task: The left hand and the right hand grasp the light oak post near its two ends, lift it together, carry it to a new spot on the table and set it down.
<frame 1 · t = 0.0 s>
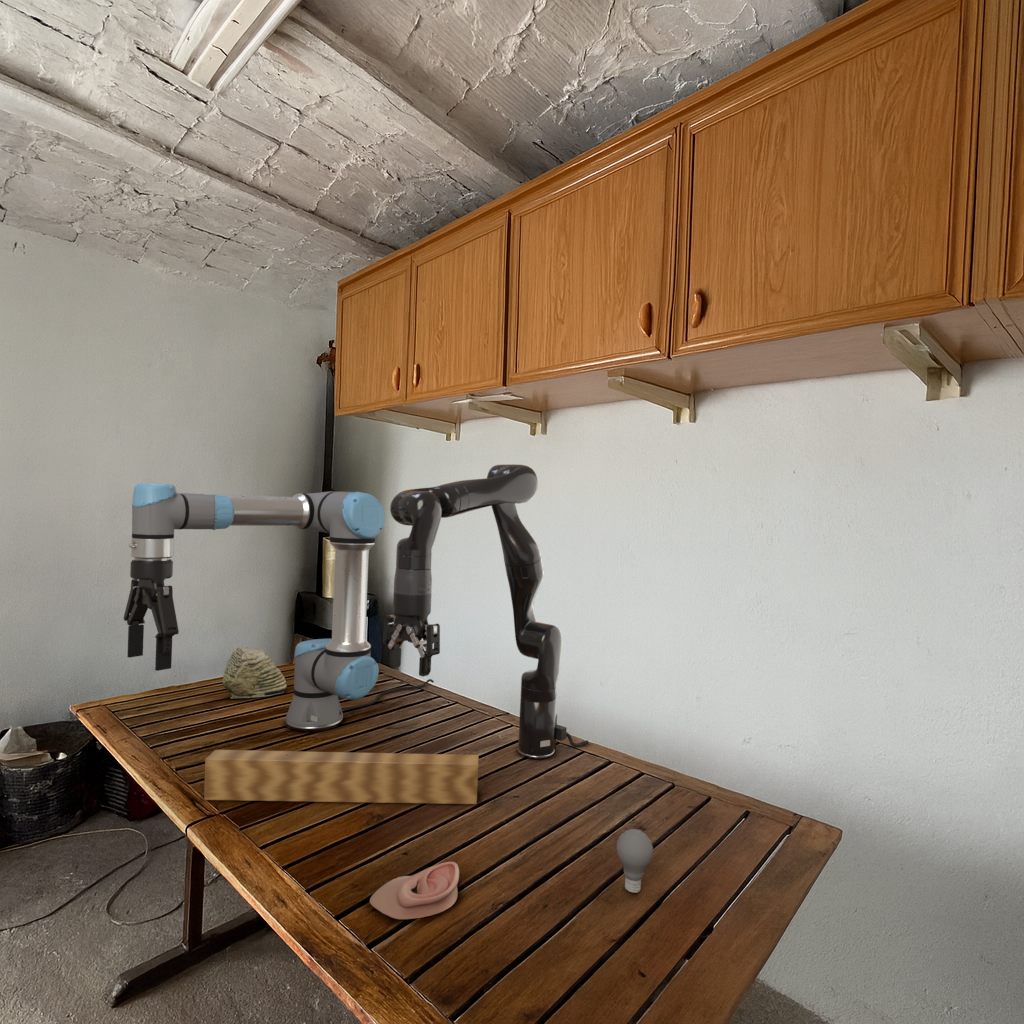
left hand: (148, 662, 129), 28 cm above the table, tool pointing down, fingers open, 13 cm apart
right hand: (409, 671, 127), 29 cm above the table, tool pointing down, fingers open, 8 cm apart
anatomical model: (415, 898, 101), on the table
light bulb: (632, 891, 106), on the table
fossil: (254, 694, 198), on the table
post: (344, 796, 134), on the table
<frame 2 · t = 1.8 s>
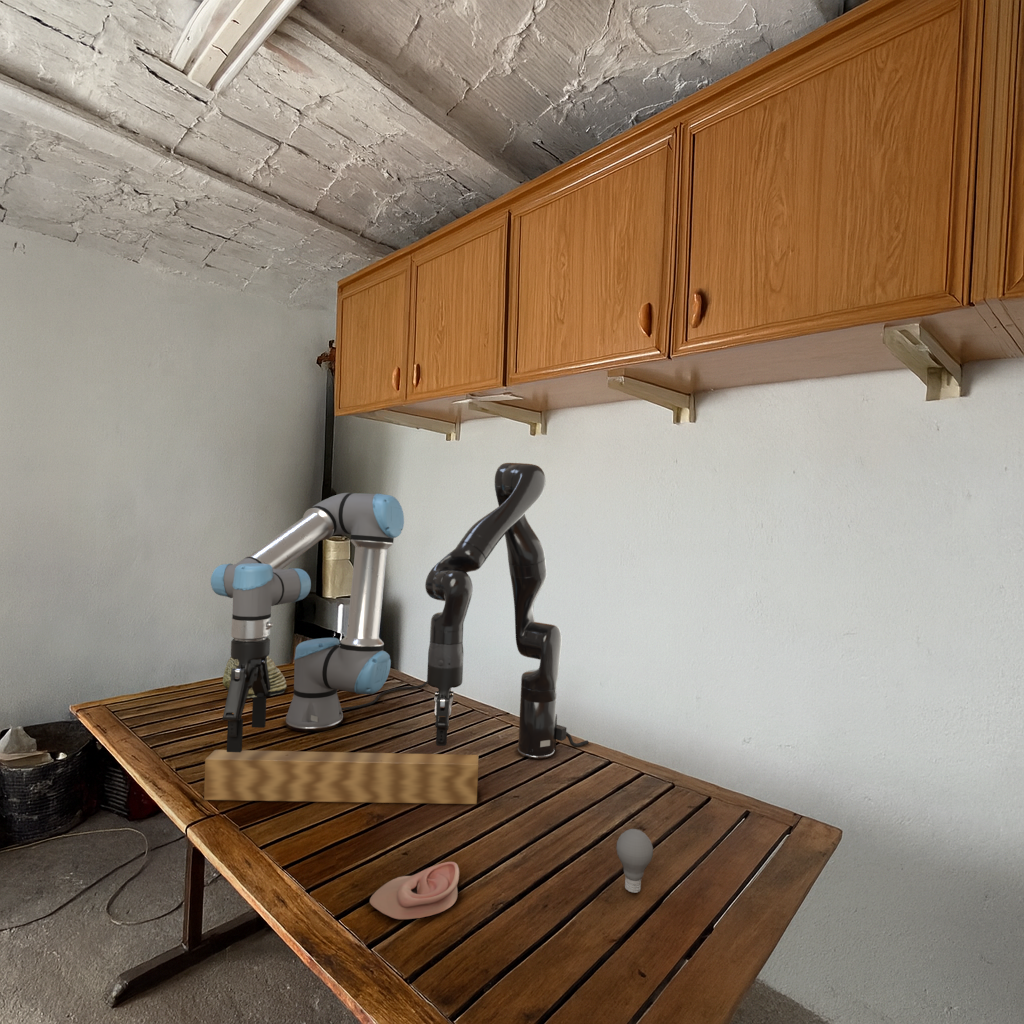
left hand: (247, 738, 133), 12 cm above the table, tool pointing down, fingers open, 13 cm apart
right hand: (442, 737, 135), 13 cm above the table, tool pointing down, fingers open, 8 cm apart
nothing on the table moved.
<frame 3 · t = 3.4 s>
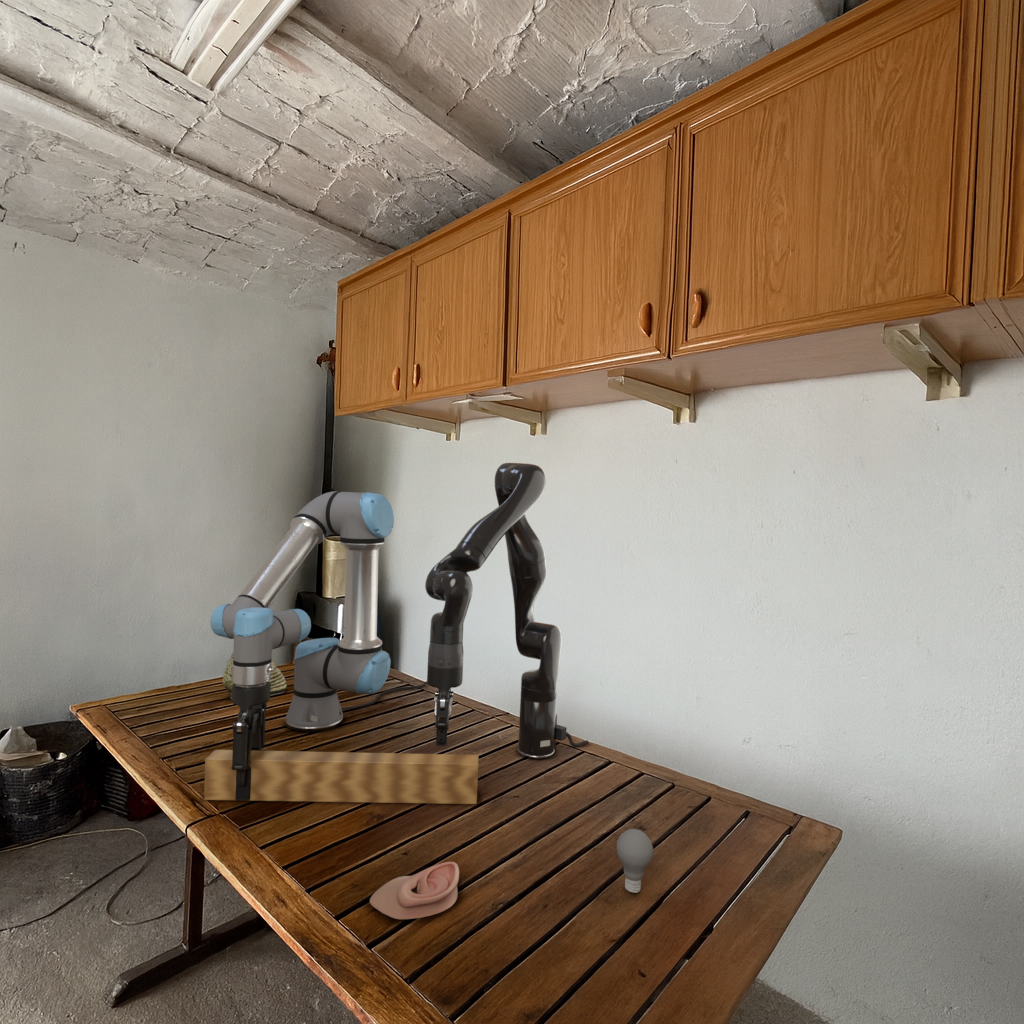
left hand: (247, 792, 133), 1 cm above the table, tool pointing down, fingers closed on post, 5 cm apart
right hand: (442, 737, 135), 13 cm above the table, tool pointing down, fingers open, 8 cm apart
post: (344, 796, 134), on the table, touching left hand
everything else where it was.
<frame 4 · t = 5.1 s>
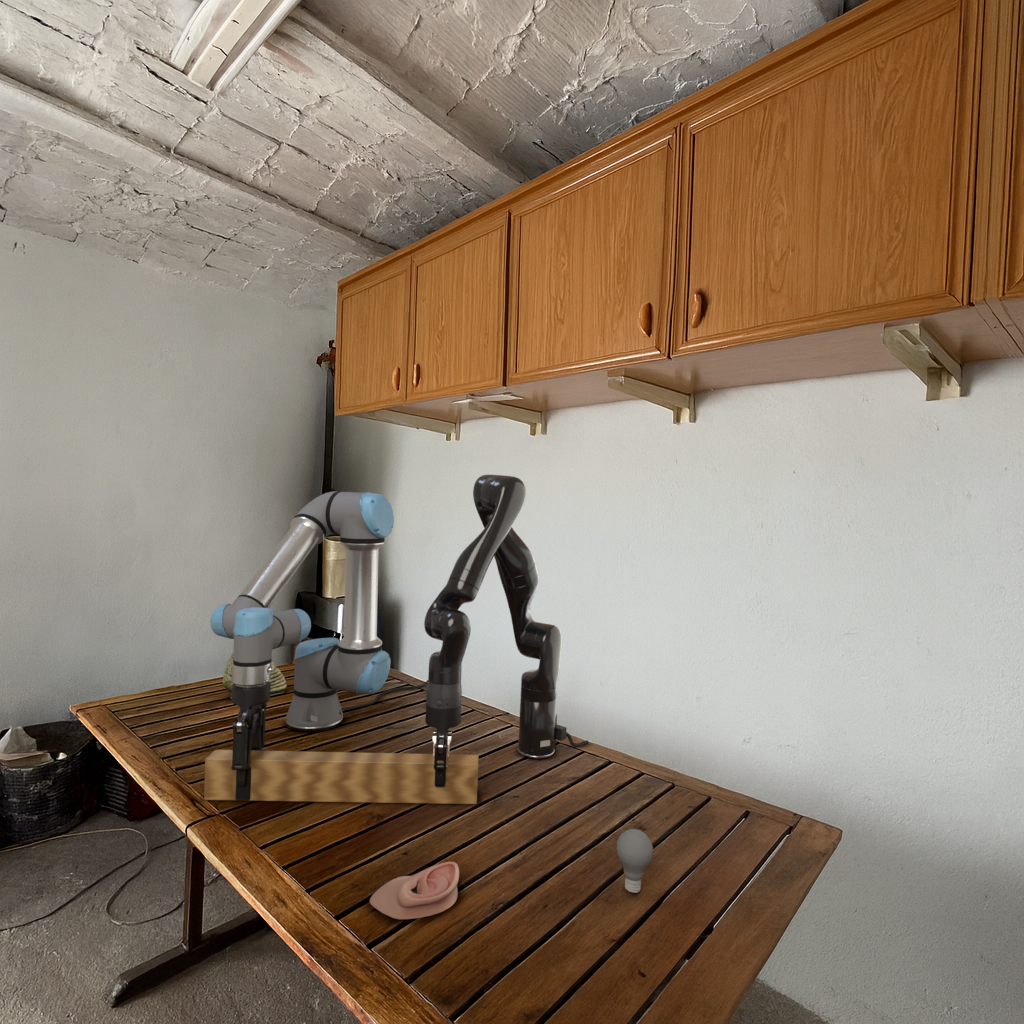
left hand: (247, 792, 133), 1 cm above the table, tool pointing down, fingers closed on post, 5 cm apart
right hand: (440, 779, 135), 4 cm above the table, tool pointing down, fingers closed on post, 5 cm apart
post: (344, 796, 134), on the table, touching left hand, right hand
everything else where it was.
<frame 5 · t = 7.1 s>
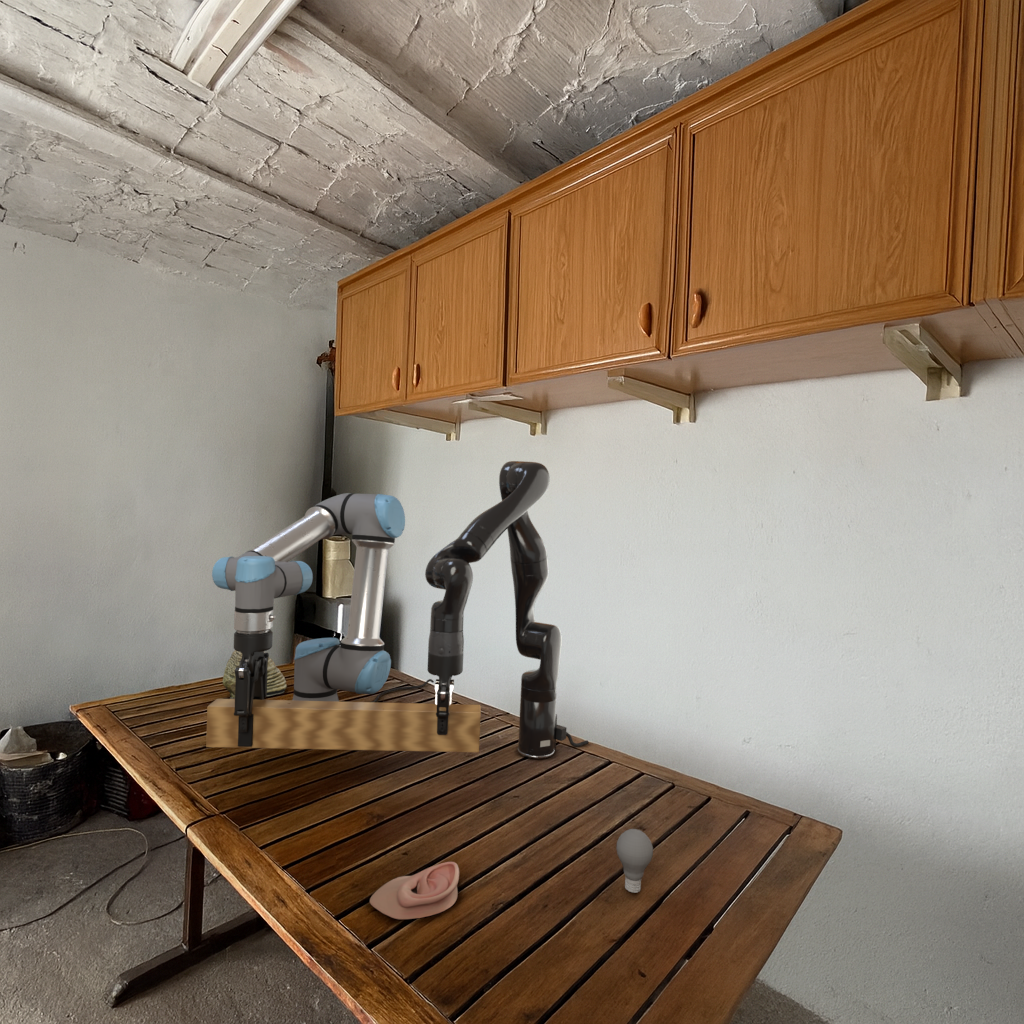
left hand: (250, 740, 133), 12 cm above the table, tool pointing down, fingers closed on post, 5 cm apart
right hand: (442, 728, 135), 15 cm above the table, tool pointing down, fingers closed on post, 5 cm apart
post: (346, 745, 134), point 11 cm above the table, touching left hand, right hand
everything else where it was.
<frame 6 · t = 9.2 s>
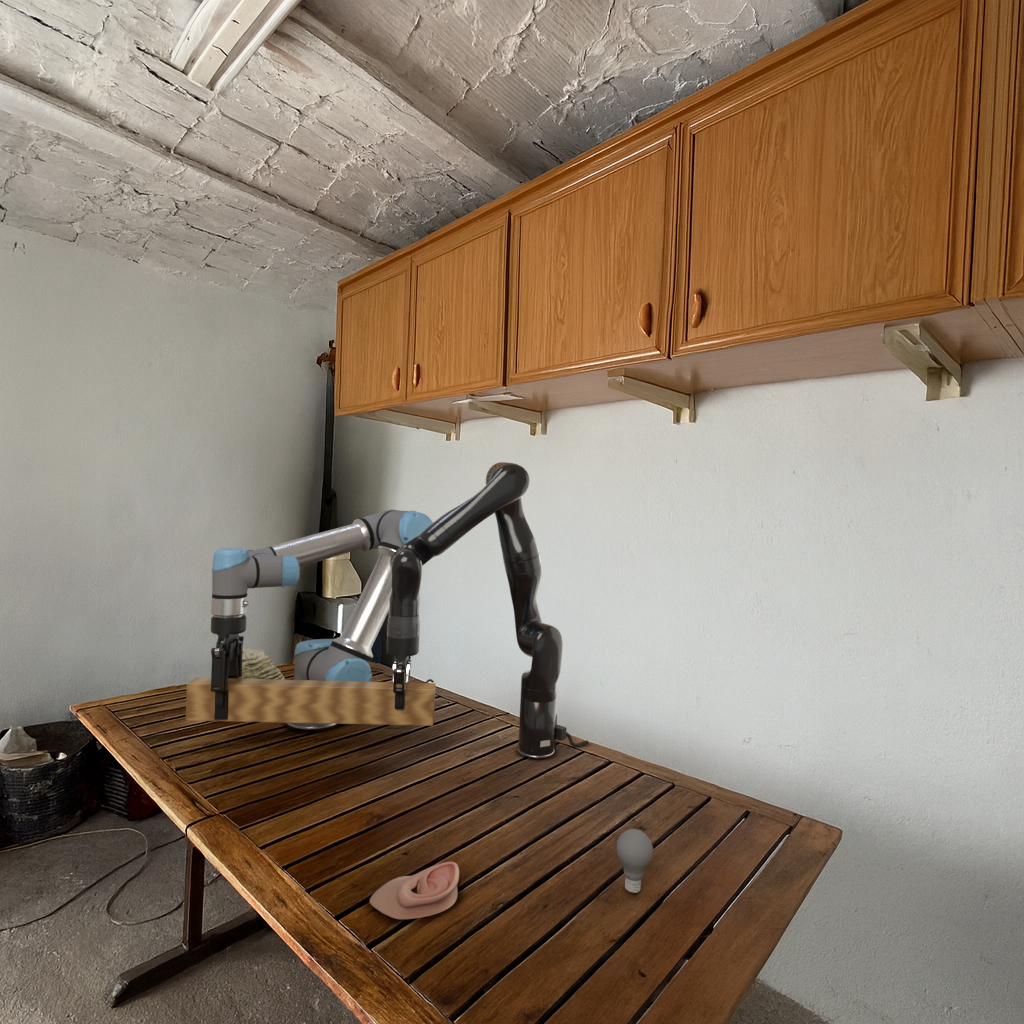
left hand: (226, 714, 147), 12 cm above the table, tool pointing down, fingers closed on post, 5 cm apart
right hand: (400, 704, 149), 15 cm above the table, tool pointing down, fingers closed on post, 5 cm apart
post: (313, 719, 148), point 11 cm above the table, touching left hand, right hand
everything else where it was.
when the left hand's fingers open (2 cm above the table, at t = 10.9 s): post drops 2 cm, on the table.
when the right hand's fingers open (5 cm above the table, at t = 11.1 s): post stays where it is, on the table.
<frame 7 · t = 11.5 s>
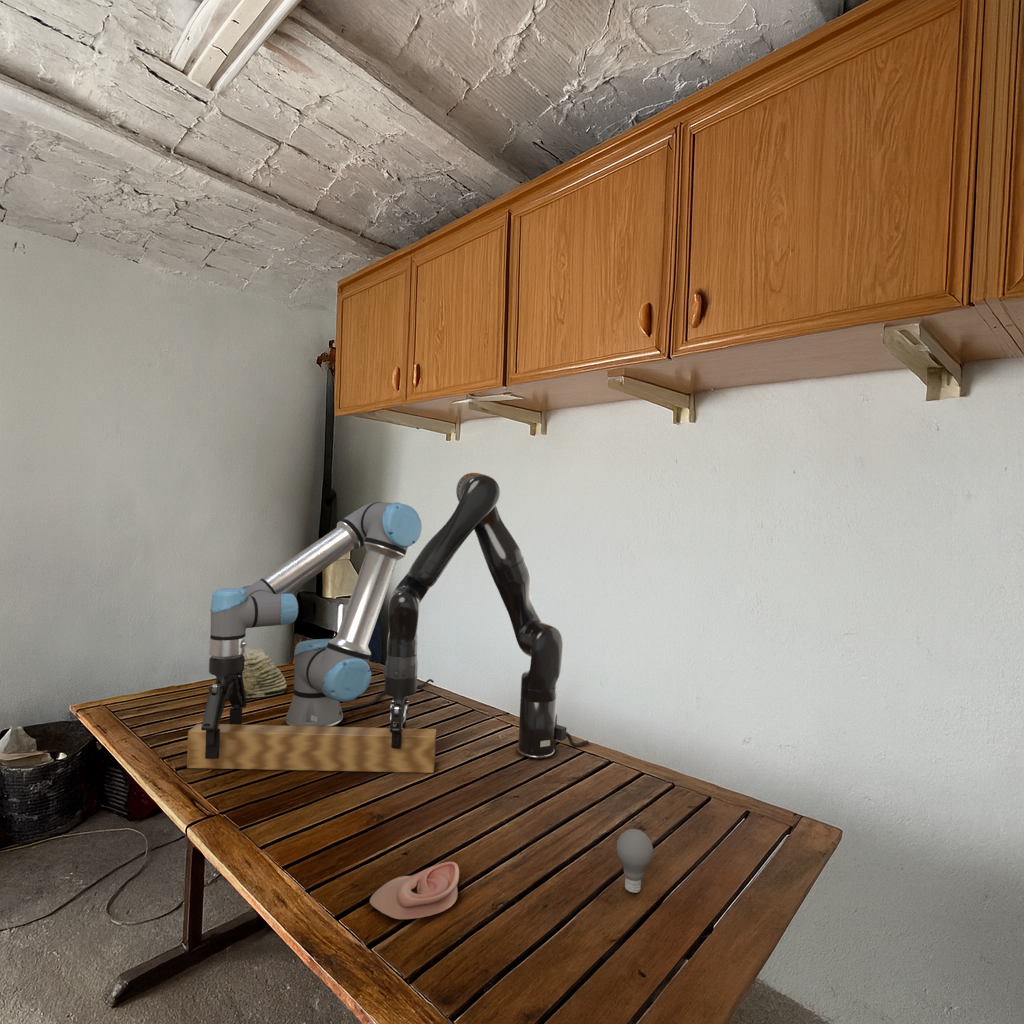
left hand: (224, 746, 147), 4 cm above the table, tool pointing down, fingers open, 13 cm apart
right hand: (398, 741, 150), 6 cm above the table, tool pointing down, fingers open, 8 cm apart
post: (314, 765, 149), on the table
everything else where it was.
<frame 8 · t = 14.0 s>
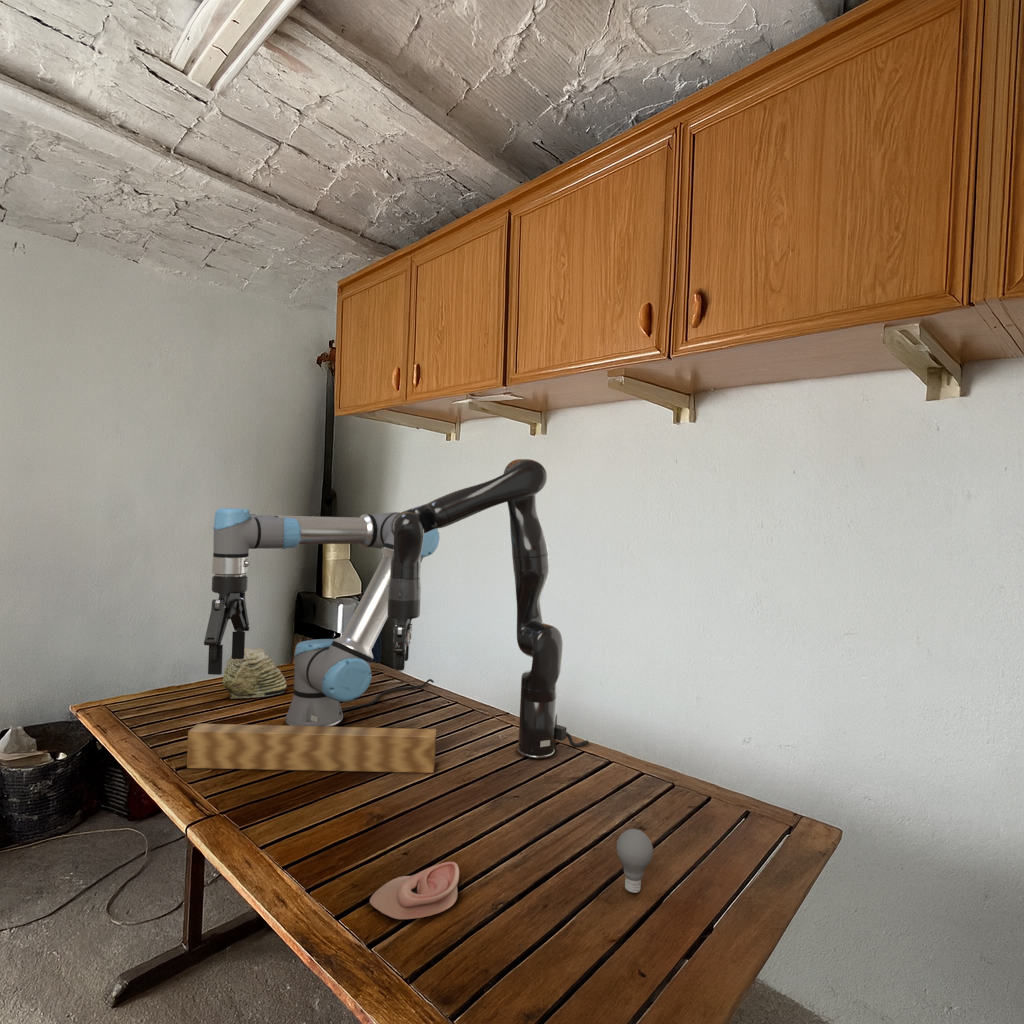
left hand: (226, 666, 147), 23 cm above the table, tool pointing down, fingers open, 13 cm apart
right hand: (401, 665, 149), 24 cm above the table, tool pointing down, fingers open, 8 cm apart
nothing on the table moved.
at the end: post inside the target area (0.8 cm from its centre), on the table; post tilted 0°; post never tilted more than 2° during the clip; both hands held the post at the same time; the left hand is holding nothing; the right hand is holding nothing; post at rest at the end (0.0 cm/s) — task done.
